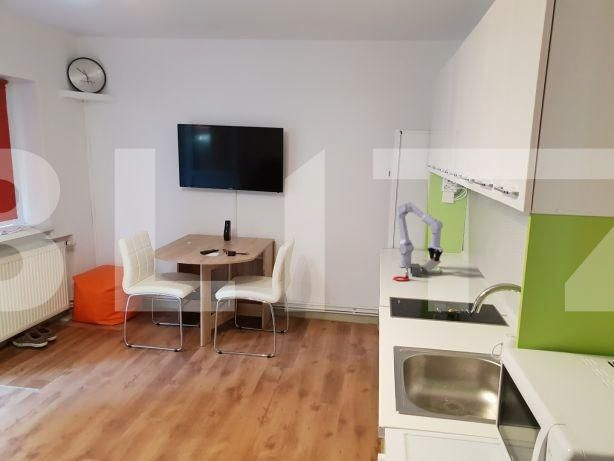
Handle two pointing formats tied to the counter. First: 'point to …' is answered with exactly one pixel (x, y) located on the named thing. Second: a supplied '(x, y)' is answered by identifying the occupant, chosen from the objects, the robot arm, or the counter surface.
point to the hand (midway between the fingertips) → (434, 259)
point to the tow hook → (402, 276)
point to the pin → (430, 265)
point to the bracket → (415, 270)
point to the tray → (434, 270)
